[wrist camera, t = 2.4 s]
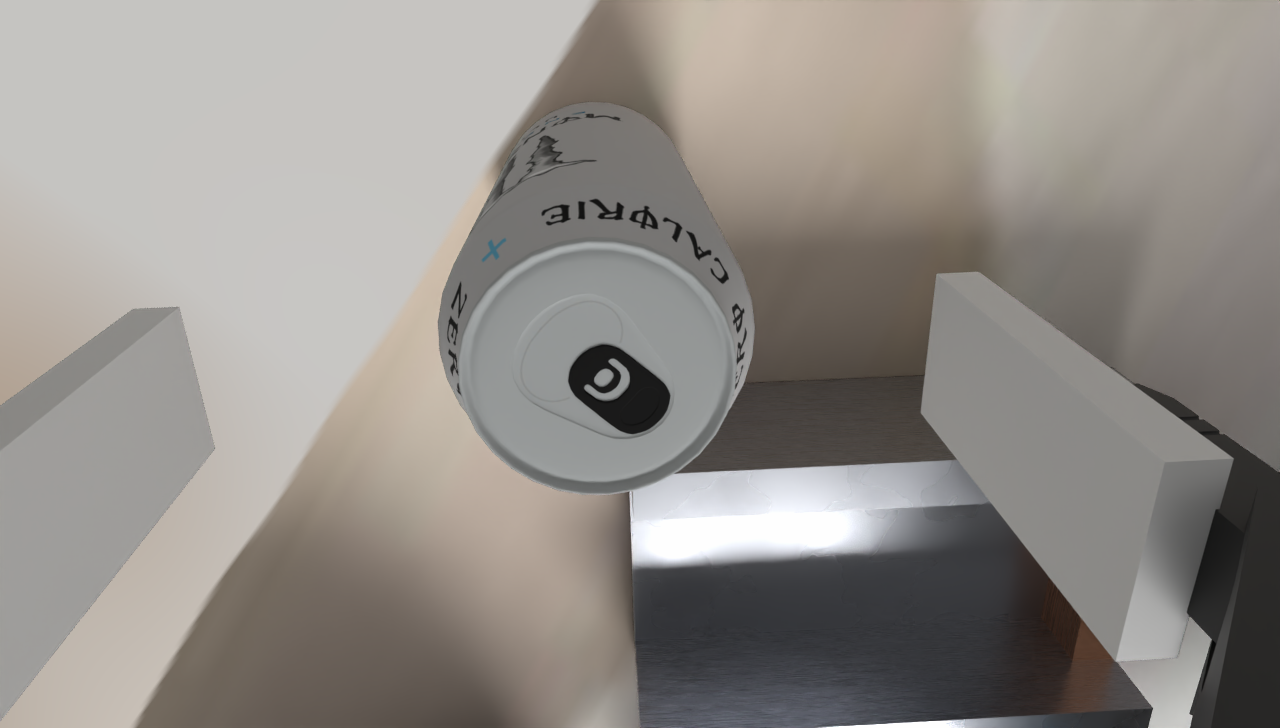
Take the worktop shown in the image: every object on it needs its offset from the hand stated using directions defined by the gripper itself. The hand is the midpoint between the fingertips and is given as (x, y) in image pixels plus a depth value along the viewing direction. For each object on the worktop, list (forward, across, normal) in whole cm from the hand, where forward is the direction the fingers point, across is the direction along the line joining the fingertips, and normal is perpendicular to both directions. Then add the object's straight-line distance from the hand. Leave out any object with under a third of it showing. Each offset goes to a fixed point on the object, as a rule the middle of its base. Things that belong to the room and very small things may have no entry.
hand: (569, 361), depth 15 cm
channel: (+14, -10, +13) cm, 22 cm away
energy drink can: (+15, -1, 0) cm, 15 cm away
